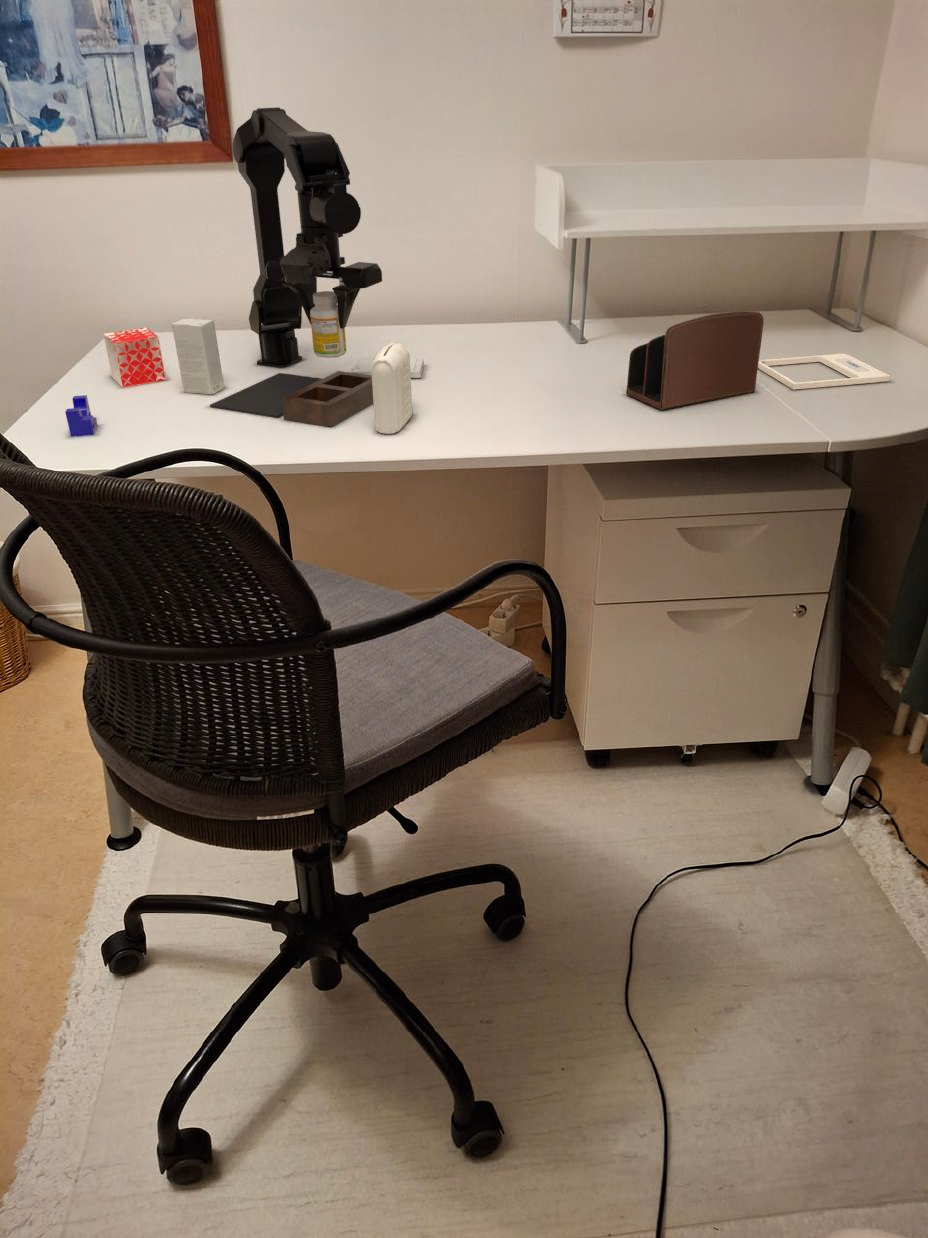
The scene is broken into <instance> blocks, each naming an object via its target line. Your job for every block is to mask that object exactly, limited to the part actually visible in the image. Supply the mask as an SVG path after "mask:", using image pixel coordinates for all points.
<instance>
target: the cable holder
mask: <svg viewBox="0 0 928 1238" xmlns="http://www.w3.org/2000/svg"><path fill="white" fill-rule="evenodd" d="M71 400H72V404H73V405H72V406H73V407H72V408H67V409H65V412H64V413H65V417H66V421H67V425H68V429H69V434H70V437H81V436H82V437H83V436H95V434H96V432H97V429H98V427H99V424H98V420H97V417H95V416H94V415H92V413H91V407H90V404H89V399H88V395H87V394H85V395H74V396H73V397H72V398H71Z"/></svg>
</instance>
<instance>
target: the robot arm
mask: <svg viewBox="0 0 928 1238" xmlns="http://www.w3.org/2000/svg"><path fill="white" fill-rule="evenodd" d="M340 148H341V147H340V146H339V144H338V142H337V141H336V140H335V138H334V136H333V135H332V134H330V133H327V132H323V131H311V130H307V129H306V128H305V127H304V126H302V125H300V124H299V123H298V122H297V121H296V120H295V119H293V118H292V117H290V116H289V115H288V114H287V112H286V110H285V109H284V108H281V107H278V106H277V107H258V108H256V109H254V110H252V112H251V115H250V118H248V119H247V120H246V121H245V122H244V123H242V124H241V125H240V126H238V127H237V129H236V131H235V134H234V137H233V140H232V155H233V158H234V161H235V162H236V163H237V164H236V165H237V169H238V172H239V174H240V176H241V177H242V178H243V180H244V182H245V183H246V184H247V186H248V187H249V191H250V198H251V206H252V207H251V208H252V216H253V223H254V232H255V240H256V241H255V242H256V250H257V259H258V267H259V276H258V277H257V280H256V283H255V284H254V287H253V289H252V291H253V292H252V294H253V301H252V302H251V307H250V311H249V316H248V322H249V327H250V330H251V331H252V332H254V333H255V334H256V335H258V341H259V343H258V344H259V350H260V359H258V360H256V364H257V365H261V366H269V367H270V366H271V367H277V368H286V367H288V366H291V365H293V364H295V363H297V362H299V361H301V360H303V356H302V355H300V353H299V345H298V338H297V336H296V333H295V331H296V330H297V329H298V330H301V329H302V325H303V323H302V322H303V321H302V320H303V318H302V317H303V311H304V313H305V316H306V318H307V320H308V321H309V325H311V318H310V311H311V309H312V308H313V307H315V304H314V302H313V294H314V293H317V292H318V278H323V279H333V280H339V281H338V282H339V285H337V286H334V287H332V288H331V289H332V291H333V292H334V293H335V294H336V296H337V305H338V318H339V325H340V328H341V329H343V328H345V329H346V327H347V325H348V321H349V318H350V315H351V312H352V309H353V306H354V304H355V301H356V299H357V297H358V294H359V293H360V291H361V289H367V288H369V287H372V286H374V285H377V284H379V283H382V282H383V271H382V269H381V267H380V266H379V264H378V263H376V262H364V261H357V262H354V263H352V264H349V265H347V266H342V265H345V264H346V259H345V258H346V257H345V256H341V252H340V251H341V250H340V239H339V238H343V237H344V235H346V234H349V233H352V232H353V231H354V230H355V229H356V228H357V227H358V226H359V224H360V221H361V218H362V209H361V206H360V204H359V202H358V200H357V198H356V197H355V196H353V195H352V194H350V193H349V192H348V190H347V189H348V188H347V186H350V185H351V179H350V174H351V172H350V170H349V167H348V165H347V163H346V160H345V158H344V155H343V153H342V150H341V149H340ZM285 164H286V165H285ZM286 167H287V169H288V171H289V172H290V173H289V174H290V175H291V178H293V180H294V182H295V185H294V189H295V191H297V201H298V202H297V203H298V204H297V205H298V213H299V223H300V232H297V233H296V237H295V247H293V248H292V249H290V250H289V251H288V252H287V253H286V254H285V250H284V249H285V248H284V238H283V230H282V221H281V210H280V201H279V192H278V191H279V189H278V187H279V186H280V183H281V181H282V178H283V176H284V175H285V172H286Z"/></svg>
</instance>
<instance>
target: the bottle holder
mask: <svg viewBox="0 0 928 1238" xmlns="http://www.w3.org/2000/svg"><path fill="white" fill-rule="evenodd" d="M371 405H374V402H373V387H372V375H366V374H358V373H352V371H350V372H349V371H342V370H336V371H335V372H332V373H331V374H329V375H327V376H325V377H323V378H321V380H319V381H317V382H315V383H313V384H311V385H309V386H307V387H305V388H303V389H301V390H299V391H297V392H295V393H293V394H290V395H288V396H286V397H284V398H282V407H283V420H284V421H289V422H296V423H301V424H307V425H313V426H321V427H327V428H333V427H334V426H337V425H338V424H340V423H342V422H344V421H345V420H347V419H349V418H351V417H352V416H353V415H356V414H358V413H360V412H361V411H362V410H363V411H364V409H366V408H368V407H370V406H371Z"/></svg>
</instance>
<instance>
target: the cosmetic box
mask: <svg viewBox="0 0 928 1238" xmlns="http://www.w3.org/2000/svg"><path fill="white" fill-rule="evenodd" d="M171 328H172V332H173V337H174V343H175V349H176V354H177V361H178V367H179V373H180V378H181V384H182V390H183V392H184V393H189V394H191V393H192V394H200V395H201V394H202V395H214V394H216V393H218V392H219V391H222V390H224V389H225V383H224V376H223V370H222V363H221V357H220V352H219V343H218V337H217V332H216V331H217V330H216V325H215V321H214V319H199V318H187V317H186V318H183V319H180V320H178V321H176V322H173V323H171Z"/></svg>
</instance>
